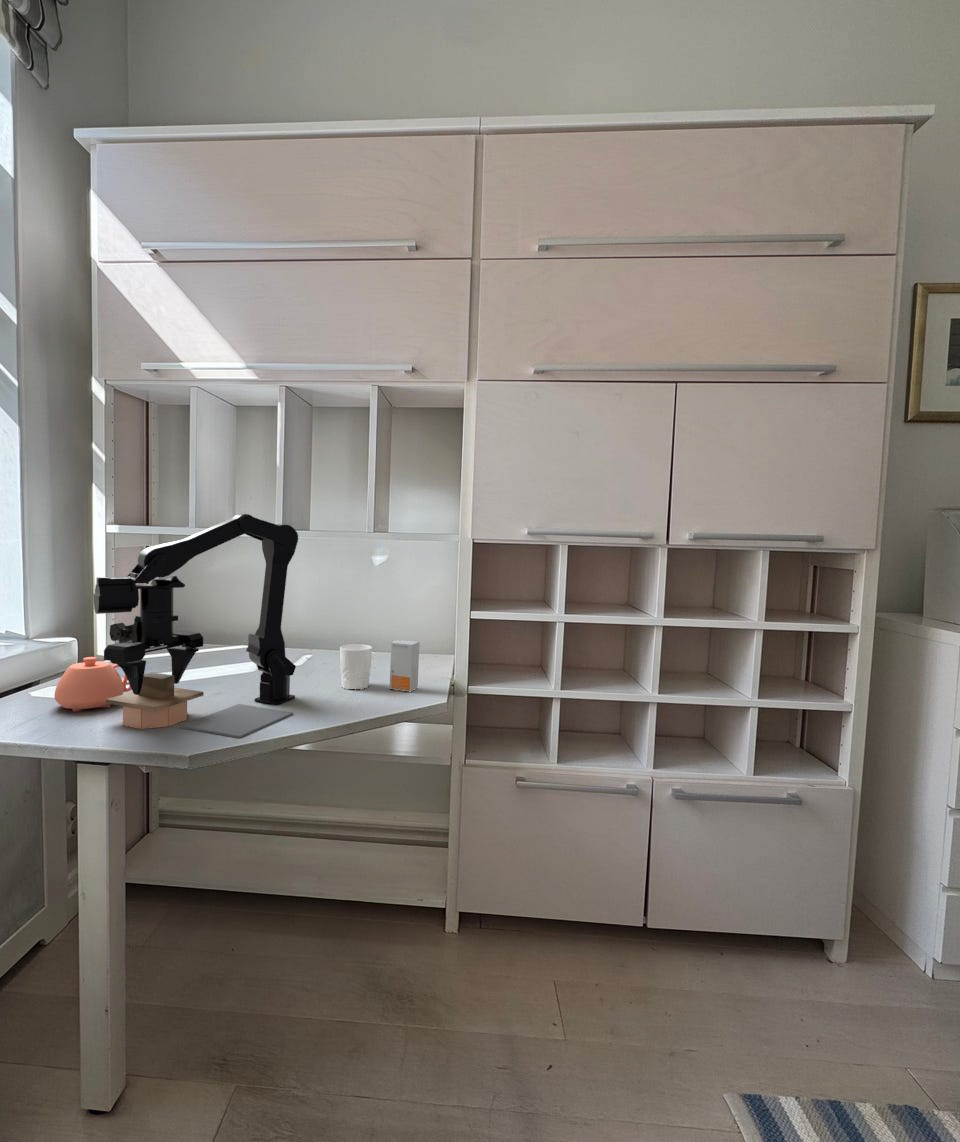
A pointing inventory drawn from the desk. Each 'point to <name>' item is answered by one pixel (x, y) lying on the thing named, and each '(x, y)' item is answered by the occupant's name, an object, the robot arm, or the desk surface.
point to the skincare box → (404, 665)
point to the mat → (236, 720)
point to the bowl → (154, 716)
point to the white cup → (355, 666)
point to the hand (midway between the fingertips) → (156, 688)
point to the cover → (155, 694)
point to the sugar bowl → (89, 685)
